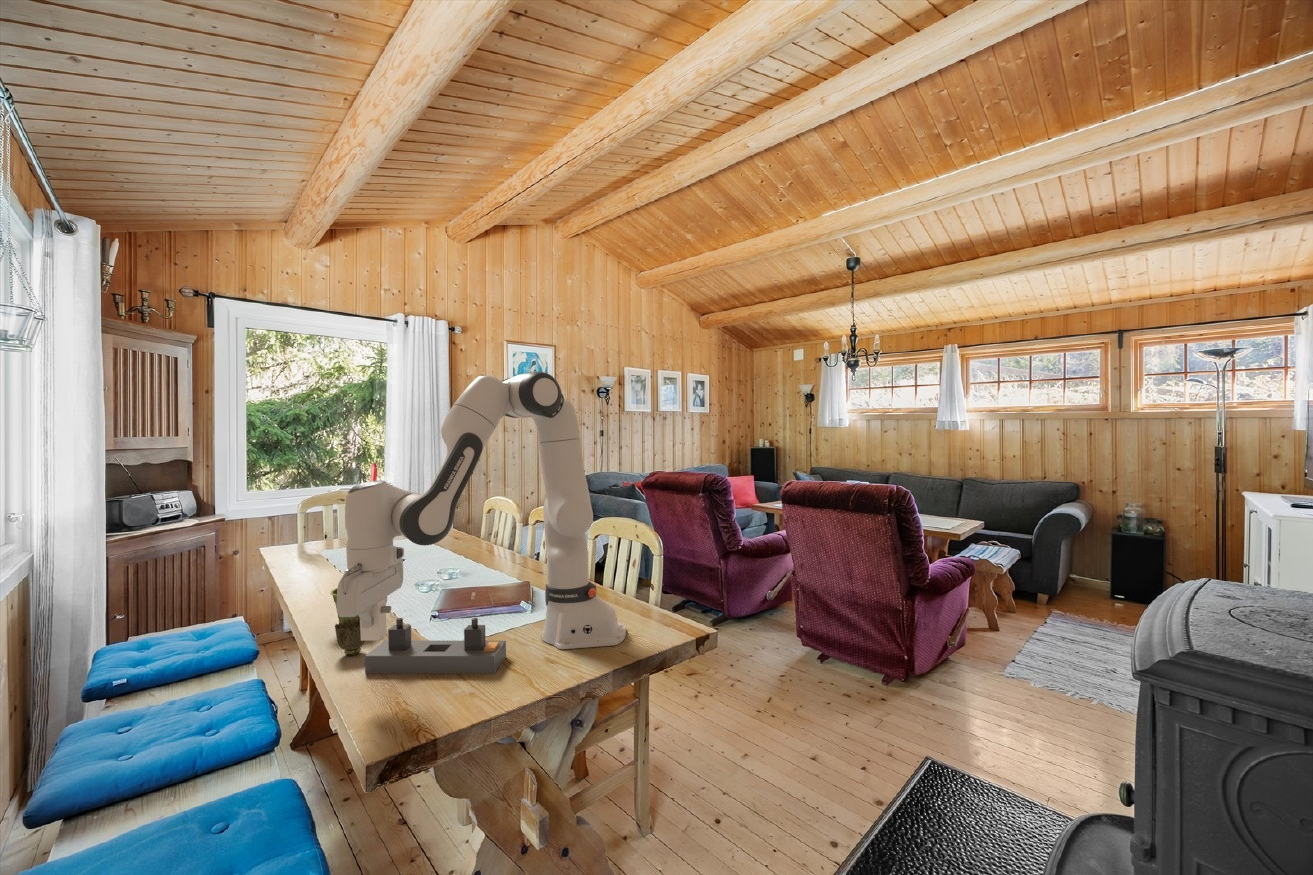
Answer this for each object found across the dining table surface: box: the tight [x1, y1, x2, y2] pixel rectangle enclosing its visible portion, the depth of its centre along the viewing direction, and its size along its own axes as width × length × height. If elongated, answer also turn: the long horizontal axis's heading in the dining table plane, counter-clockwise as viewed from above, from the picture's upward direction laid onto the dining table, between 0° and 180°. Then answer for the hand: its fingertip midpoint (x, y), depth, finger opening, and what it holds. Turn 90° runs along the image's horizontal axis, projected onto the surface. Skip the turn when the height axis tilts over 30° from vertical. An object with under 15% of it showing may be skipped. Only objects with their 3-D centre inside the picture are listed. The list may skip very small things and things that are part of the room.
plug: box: [360, 598, 392, 641], centre depth 117 cm, size 6×3×8 cm, turn 89°
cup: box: [334, 618, 366, 657], centre depth 138 cm, size 8×7×8 cm
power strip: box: [364, 617, 507, 674], centre depth 131 cm, size 30×9×11 cm, turn 89°
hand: (373, 622), depth 117 cm, fingers closed on plug, 3 cm apart
